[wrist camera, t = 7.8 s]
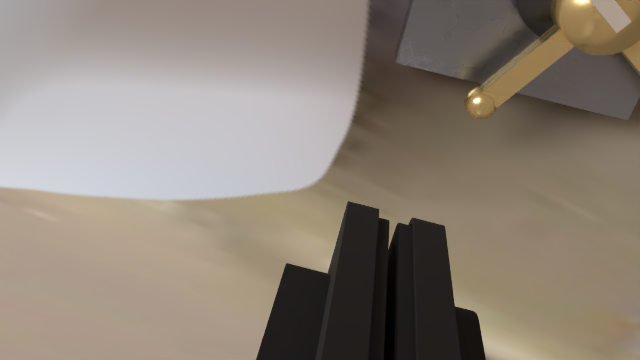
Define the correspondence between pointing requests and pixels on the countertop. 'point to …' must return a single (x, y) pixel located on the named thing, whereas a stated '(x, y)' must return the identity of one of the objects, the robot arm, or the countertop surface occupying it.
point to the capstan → (561, 43)
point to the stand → (511, 55)
